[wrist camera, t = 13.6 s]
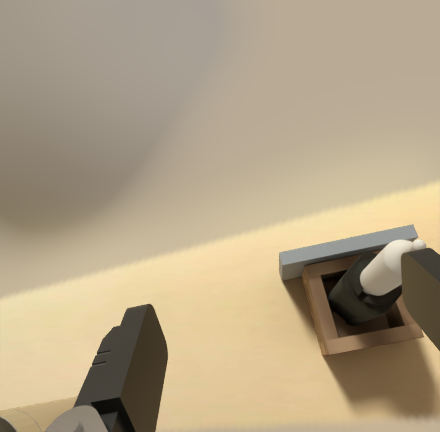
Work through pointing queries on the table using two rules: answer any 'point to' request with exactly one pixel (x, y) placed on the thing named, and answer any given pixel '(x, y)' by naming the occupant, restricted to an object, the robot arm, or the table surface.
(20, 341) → the table surface
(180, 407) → the table surface
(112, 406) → the robot arm
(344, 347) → the socket block
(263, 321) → the table surface
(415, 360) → the table surface
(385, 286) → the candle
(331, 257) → the backstop wall
